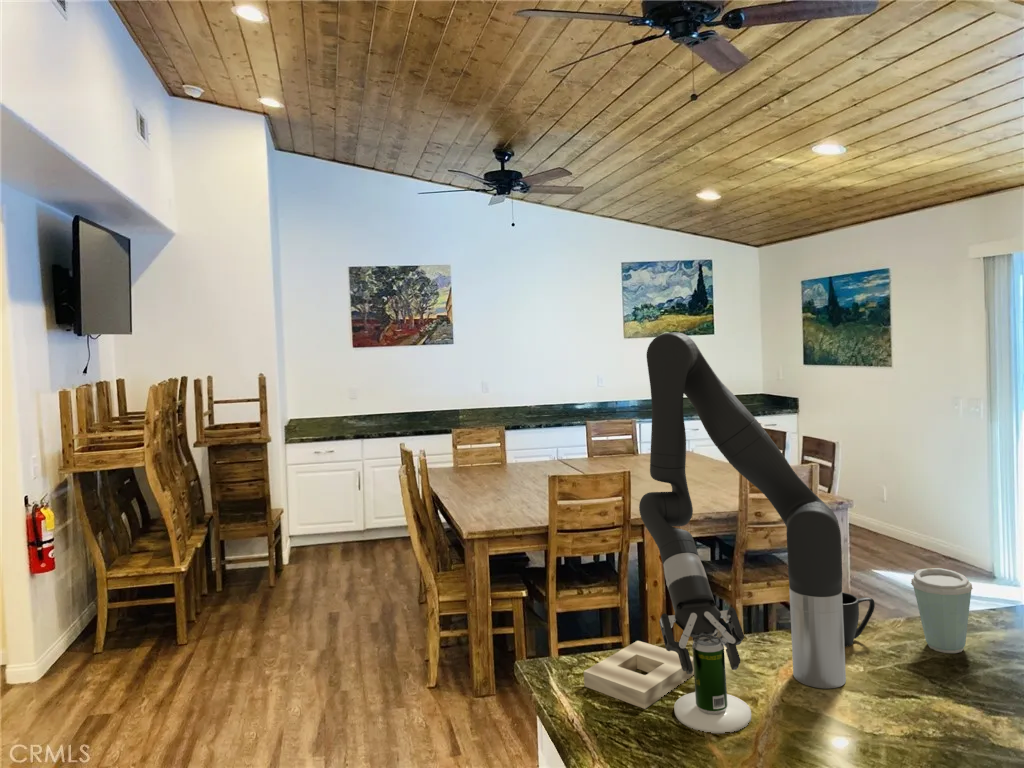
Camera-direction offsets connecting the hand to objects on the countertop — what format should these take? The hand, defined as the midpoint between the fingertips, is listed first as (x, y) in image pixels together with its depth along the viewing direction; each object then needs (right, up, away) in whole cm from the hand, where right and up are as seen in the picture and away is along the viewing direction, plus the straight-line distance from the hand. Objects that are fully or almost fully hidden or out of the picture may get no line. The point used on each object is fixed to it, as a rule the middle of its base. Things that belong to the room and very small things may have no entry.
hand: (713, 670), depth 122 cm
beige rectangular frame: (-9, -8, +16) cm, 20 cm away
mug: (+36, -5, +28) cm, 46 cm away
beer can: (0, -8, +2) cm, 8 cm away
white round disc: (0, -8, +2) cm, 8 cm away
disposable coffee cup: (+53, -4, +22) cm, 58 cm away
